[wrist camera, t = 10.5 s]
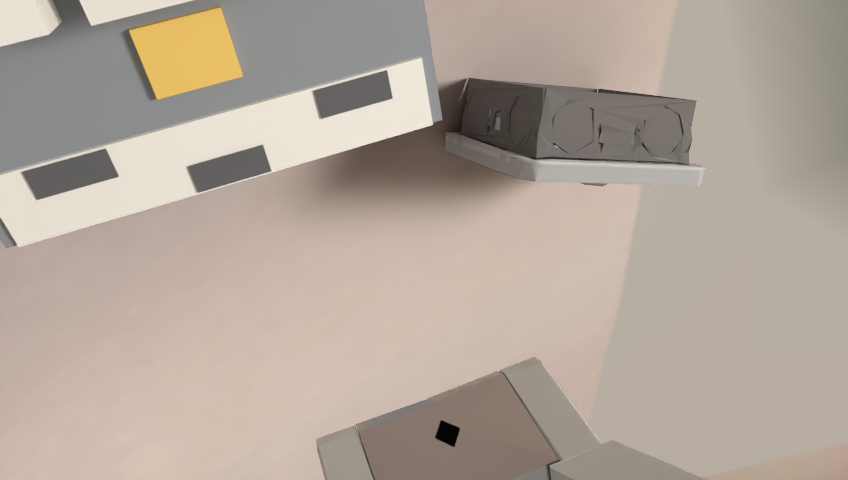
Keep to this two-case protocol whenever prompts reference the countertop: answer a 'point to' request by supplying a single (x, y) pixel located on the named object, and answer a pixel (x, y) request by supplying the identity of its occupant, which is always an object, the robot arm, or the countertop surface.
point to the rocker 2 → (121, 8)
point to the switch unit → (198, 102)
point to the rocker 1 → (26, 20)
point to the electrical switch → (576, 134)
